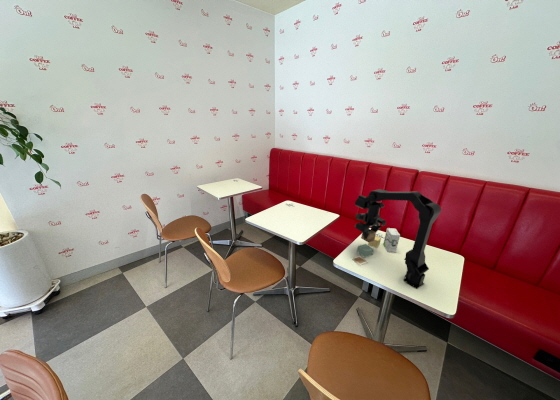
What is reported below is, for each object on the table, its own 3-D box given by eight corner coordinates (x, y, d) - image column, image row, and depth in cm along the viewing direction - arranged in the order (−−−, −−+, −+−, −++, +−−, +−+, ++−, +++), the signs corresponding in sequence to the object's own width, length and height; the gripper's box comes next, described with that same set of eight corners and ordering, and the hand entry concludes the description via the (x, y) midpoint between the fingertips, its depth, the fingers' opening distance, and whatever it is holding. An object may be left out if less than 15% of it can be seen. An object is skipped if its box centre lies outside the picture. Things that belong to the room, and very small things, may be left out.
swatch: (367, 262, 117) (367, 261, 117) (360, 265, 114) (360, 264, 114) (358, 256, 122) (359, 255, 121) (351, 259, 119) (351, 258, 119)
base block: (372, 255, 123) (373, 249, 122) (364, 257, 121) (366, 251, 120) (364, 249, 128) (365, 243, 127) (357, 251, 126) (358, 246, 125)
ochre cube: (379, 244, 133) (381, 238, 132) (376, 248, 130) (377, 240, 128) (371, 241, 137) (373, 234, 135) (368, 244, 133) (369, 237, 132)
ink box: (382, 244, 134) (386, 227, 130) (390, 244, 134) (395, 228, 130) (387, 252, 126) (391, 234, 122) (396, 252, 126) (400, 235, 122)
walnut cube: (374, 240, 120) (376, 232, 119) (368, 242, 118) (370, 234, 116) (367, 236, 124) (368, 228, 123) (361, 238, 122) (362, 230, 120)
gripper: (372, 204, 126) (367, 228, 132) (349, 210, 117) (345, 235, 123) (389, 211, 117) (383, 236, 123) (366, 218, 108) (361, 244, 114)
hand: (368, 237), depth 121 cm, fingers closed on walnut cube, 5 cm apart
